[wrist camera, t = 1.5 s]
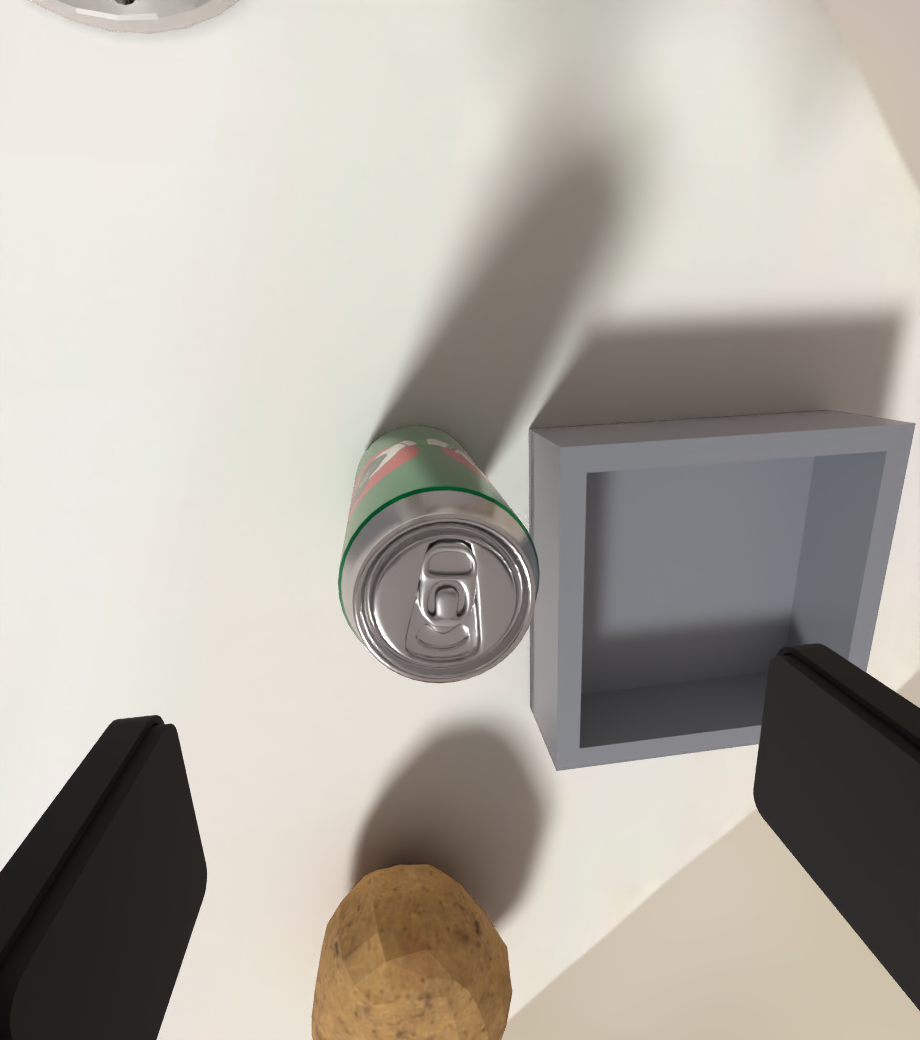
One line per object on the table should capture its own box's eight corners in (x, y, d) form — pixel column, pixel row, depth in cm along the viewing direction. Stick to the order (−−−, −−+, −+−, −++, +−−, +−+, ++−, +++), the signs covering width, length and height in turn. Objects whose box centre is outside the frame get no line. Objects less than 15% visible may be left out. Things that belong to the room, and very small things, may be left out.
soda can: (354, 536, 25) (333, 699, 14) (357, 420, 24) (336, 493, 12) (468, 539, 26) (539, 696, 14) (478, 427, 24) (564, 502, 13)
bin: (528, 428, 25) (560, 447, 20) (828, 410, 26) (915, 423, 22) (530, 707, 29) (556, 770, 25) (787, 676, 30) (854, 731, 26)
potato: (494, 793, 30) (533, 944, 23) (493, 983, 34) (526, 1164, 27) (305, 815, 29) (279, 982, 21) (328, 1009, 33) (313, 1206, 26)
